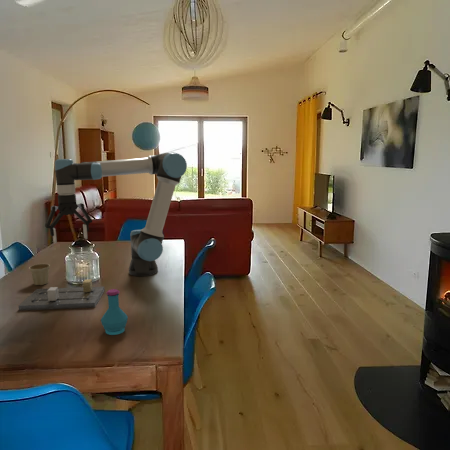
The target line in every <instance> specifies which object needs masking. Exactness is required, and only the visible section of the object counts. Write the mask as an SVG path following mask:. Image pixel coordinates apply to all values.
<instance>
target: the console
mask: <svg viewBox="0 0 450 450" xmlns="http://www.w3.org/2000/svg"><path fill="white" fill-rule="evenodd" d="M92 288H93V289H92V290H91V292H83V286H82V287H81V286H80V287H58V293H59V297H58V299H57V300H56V301H48V291H47V290H48V289H49V288H36V289H35V290H34V291H33V292H31V294H30V295H28V296H27V298H25V299H24V300H23V301H22V302H21V303H19V305H18V311H37V310H42V311H43V310H59V309H60V310H64V309H67V310H68V309H82V308H84V309H86V308H87V309H89V308H96V306H97V305H98V304H99V303H98V302H99V301H100V300H101V298H102V296H103V294H104V293H105V286H92Z"/></svg>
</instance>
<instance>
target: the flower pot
mask: <svg viewBox="0 0 450 450" xmlns="http://www.w3.org/2000/svg"><path fill="white" fill-rule="evenodd" d="M50 267H51V265H50V264H49V263H38V264H33V265H31V266H29V267H28V270H29V272H30V273H31V274H30V275H31V278H32V281H33V284H34V286H39V285H40V286H44V285H46V284H48V283H49V271H50Z"/></svg>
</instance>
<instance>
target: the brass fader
mask: <svg viewBox="0 0 450 450" xmlns="http://www.w3.org/2000/svg"><path fill="white" fill-rule="evenodd" d="M82 287H83V292H91V290H92V289H93V288H92V287H93V279H92V278H91V279H90V278H89V279H84V280H83V281H82Z"/></svg>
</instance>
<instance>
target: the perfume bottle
mask: <svg viewBox="0 0 450 450" xmlns="http://www.w3.org/2000/svg"><path fill="white" fill-rule="evenodd" d="M120 293H121V291H120V290H118V289H116V288H114V289H113V288H111V289H108V290H107V291H106V292H105V294H106V295H107V301H108V303H107V304H108V308H107V310H106V311H105V312H104V314H103V315H102V317H101V319H100V322H101V323H100V324H101V325H102V327H103V329H104V330H105V334H107V335H111V336H115V335H121V334H123V333H124V332H125V330H126V326H127V323H128V317H129V316H128V315H127V314H126V312H124V310H123V309H121V307H120V302H119V301H120V299H119V296H120Z"/></svg>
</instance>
